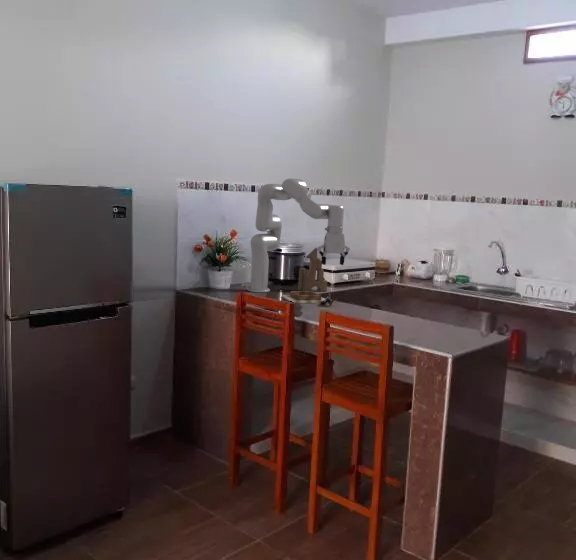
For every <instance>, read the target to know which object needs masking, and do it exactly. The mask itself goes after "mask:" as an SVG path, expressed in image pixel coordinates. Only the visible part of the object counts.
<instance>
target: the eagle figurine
mask: <svg viewBox="0 0 576 560" xmlns="http://www.w3.org/2000/svg"><path fill="white" fill-rule="evenodd" d="M324 299H325V300H324V301H322V302H321V303H319V304H321V305H322V304H323V305H324V304H328V305H329V307H332V306H333V303H334V302H336V301H337V300H338V297H337V298H336V299H334V297H332V298H331V291H329V292H328V294H327V297H326V298H324ZM327 302H328V303H327Z"/></svg>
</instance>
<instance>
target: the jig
mask: <svg viewBox="0 0 576 560" xmlns="http://www.w3.org/2000/svg"><path fill="white" fill-rule="evenodd" d="M281 298H283V299H285V300H286V301H288V302H290V301H292V302H294V303H293V304H320V303H321V302H322V301H324V300H325V298H324V297H322V295H321V294H319V293H317V292H315V291H311V290H310V291H299V290H291V291H289V294H281ZM292 302H291V303H292ZM326 304H329V303H328V302H327V303H326Z"/></svg>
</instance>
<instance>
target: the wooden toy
mask: <svg viewBox="0 0 576 560" xmlns="http://www.w3.org/2000/svg"><path fill="white" fill-rule="evenodd" d="M317 248H318V247H315V248H314V249H312V251H310V253H308V254H307V255H306V256H305V259H309V269H308V271H307V273H306V268H305V267H299V269H298V290H297V291H311V290H312V288H315V287H316V290H317V291H318V290H319V292H320V291H321V292H320V293H327V292H328V291H327V290H328V281H327V280H326V279H325V276H324V273H325V270H324V269H322V268H323V264H322V262H321V261H322V259H321V258H319V257H318V252H319V251H318V249H317Z"/></svg>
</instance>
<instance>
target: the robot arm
mask: <svg viewBox="0 0 576 560" xmlns="http://www.w3.org/2000/svg"><path fill="white" fill-rule="evenodd" d="M311 198H312V192H311V190H309V189H308V185H307V183H306V182H305V180H303V179H301V178H287V179H284V180H283V182H282V183H281V184H280V183H267V184H264V185H262V186H261V187H260V188H259V190H258V193H257V209H256V215H255V216H256V217H255V228H256V230H257V231H258V232H264V233H257V234H254V235H253V236H252V237H251V238H250V249H251V250H250V251H251V264H250V265H251V266H250V281H248V282H247V283H241V287H242V288H246V289H247V291H248V292H252V293H269V292H270V291H271V289H270V288H269V287H268V279H269V262H270V261H269V255H268V252H272V251H276V250H277V249H278V248H279V246H280V242H281V234H282V228H283V222H282V219H281V217H280V216H279V215H278V214H274V213H273V212H274V211H273V210H274V206H273V205H274V204H273V201H288V200H291V199H292V200H294V201H295V202H296V203H298V205H299V206H300V209H301V211H302V212H304V213H305V214H306V215H307V216H308V217H310V218H312V219H314V220H327V226H326V227H324V231H326V232H325V234H324V239H323V244H321V245H319V246H318V247H316V248H317V249H318V251H317V252H318V254H320V256H321V262H322V266H323V265H324V266H326V264H327V257H326V255H328V254H339V255H340V256H339V265H341V266H344V264H345V258H346V256H347V255H349V252H350V251H351V248H350V247H349V246H347V245H346V242H345V241H346V239H345V233H344V232H343V227H344V214H345V213H344V211H345V209H344V206H343V205H336V204H335V205H334V204H328V203H327V204H326V203H317V202H315V201H313V200H312V199H311ZM265 232H266V233H265Z"/></svg>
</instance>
